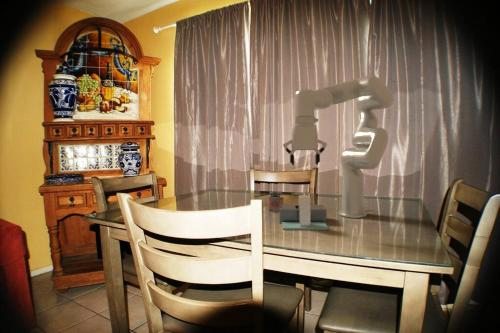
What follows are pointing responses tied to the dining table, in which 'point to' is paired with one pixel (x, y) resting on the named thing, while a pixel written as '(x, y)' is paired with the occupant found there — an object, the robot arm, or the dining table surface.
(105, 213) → the dining table surface
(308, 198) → the peg
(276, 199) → the lighter
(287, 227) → the mat
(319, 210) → the rail
